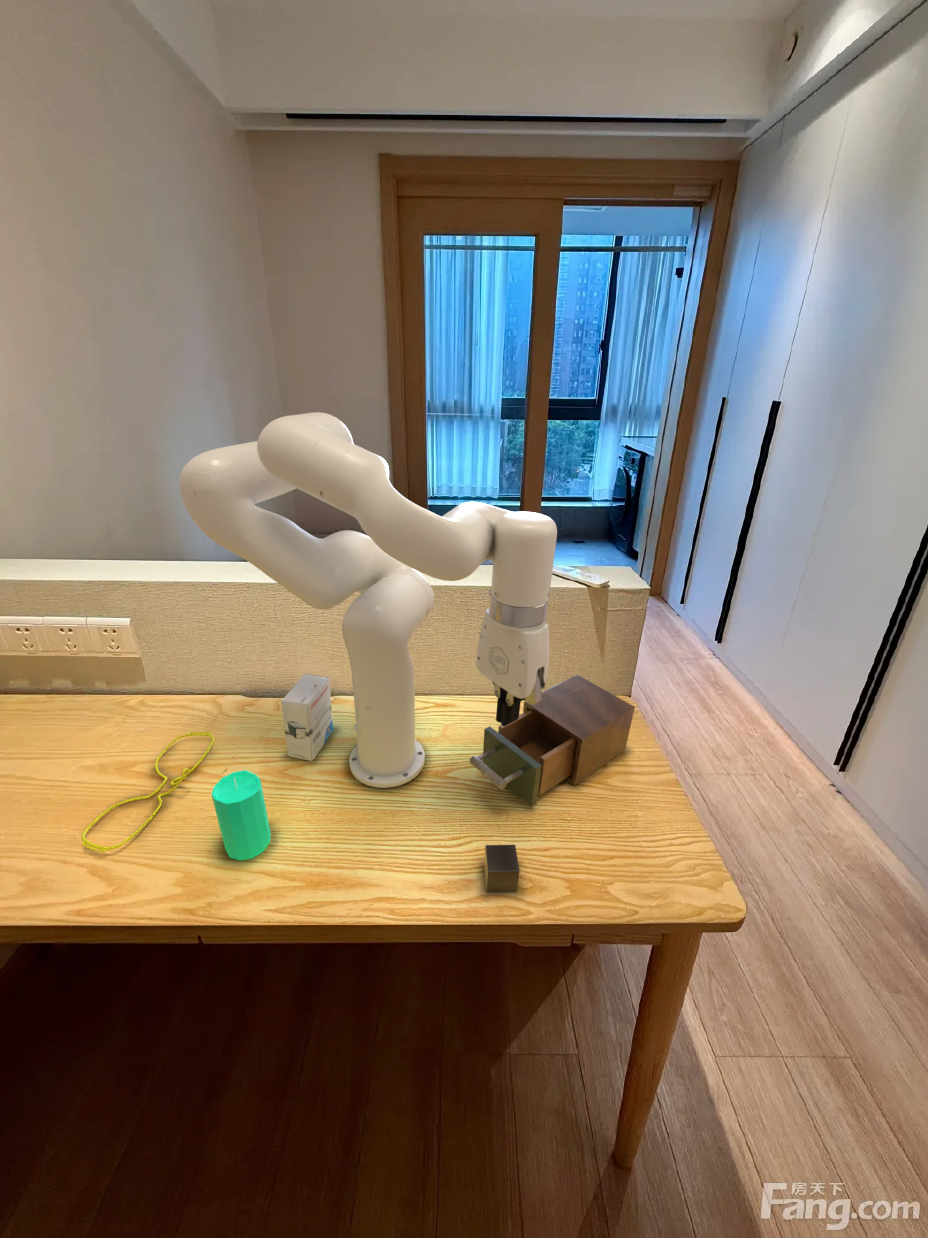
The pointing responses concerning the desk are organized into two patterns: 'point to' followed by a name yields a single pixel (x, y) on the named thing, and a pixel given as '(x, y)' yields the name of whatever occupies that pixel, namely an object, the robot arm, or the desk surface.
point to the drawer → (526, 756)
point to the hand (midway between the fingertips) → (507, 720)
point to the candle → (242, 815)
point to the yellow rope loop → (148, 796)
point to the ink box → (307, 716)
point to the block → (501, 868)
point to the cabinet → (587, 722)
